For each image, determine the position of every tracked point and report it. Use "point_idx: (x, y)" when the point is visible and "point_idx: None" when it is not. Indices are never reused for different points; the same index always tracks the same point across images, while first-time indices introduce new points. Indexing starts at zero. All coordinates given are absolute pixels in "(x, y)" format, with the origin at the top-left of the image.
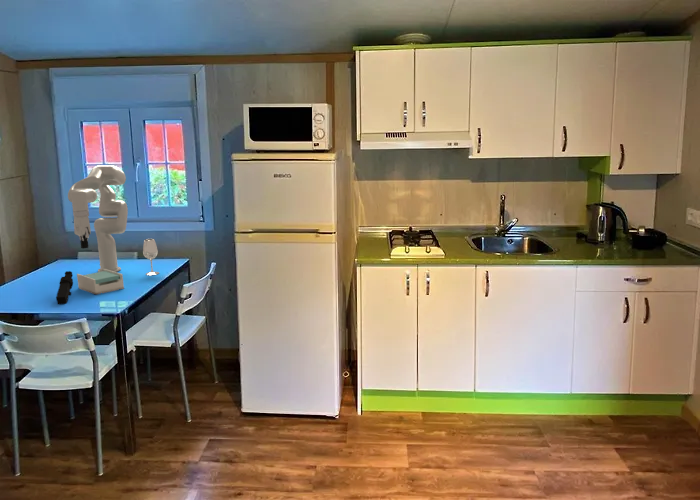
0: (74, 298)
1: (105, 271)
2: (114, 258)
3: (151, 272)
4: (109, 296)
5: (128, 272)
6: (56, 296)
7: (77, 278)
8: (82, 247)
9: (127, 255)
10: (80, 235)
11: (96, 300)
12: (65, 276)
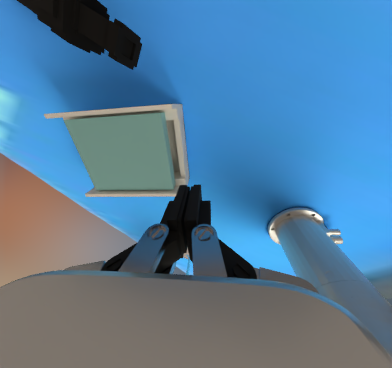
0: (68, 44)
1: (165, 188)
2: (287, 257)
3: (187, 252)
4: (53, 130)
5: (239, 237)
6: None
7: (175, 104)
8: (179, 187)
9: (381, 292)
10: (72, 272)
11: (24, 89)
12: (90, 14)
